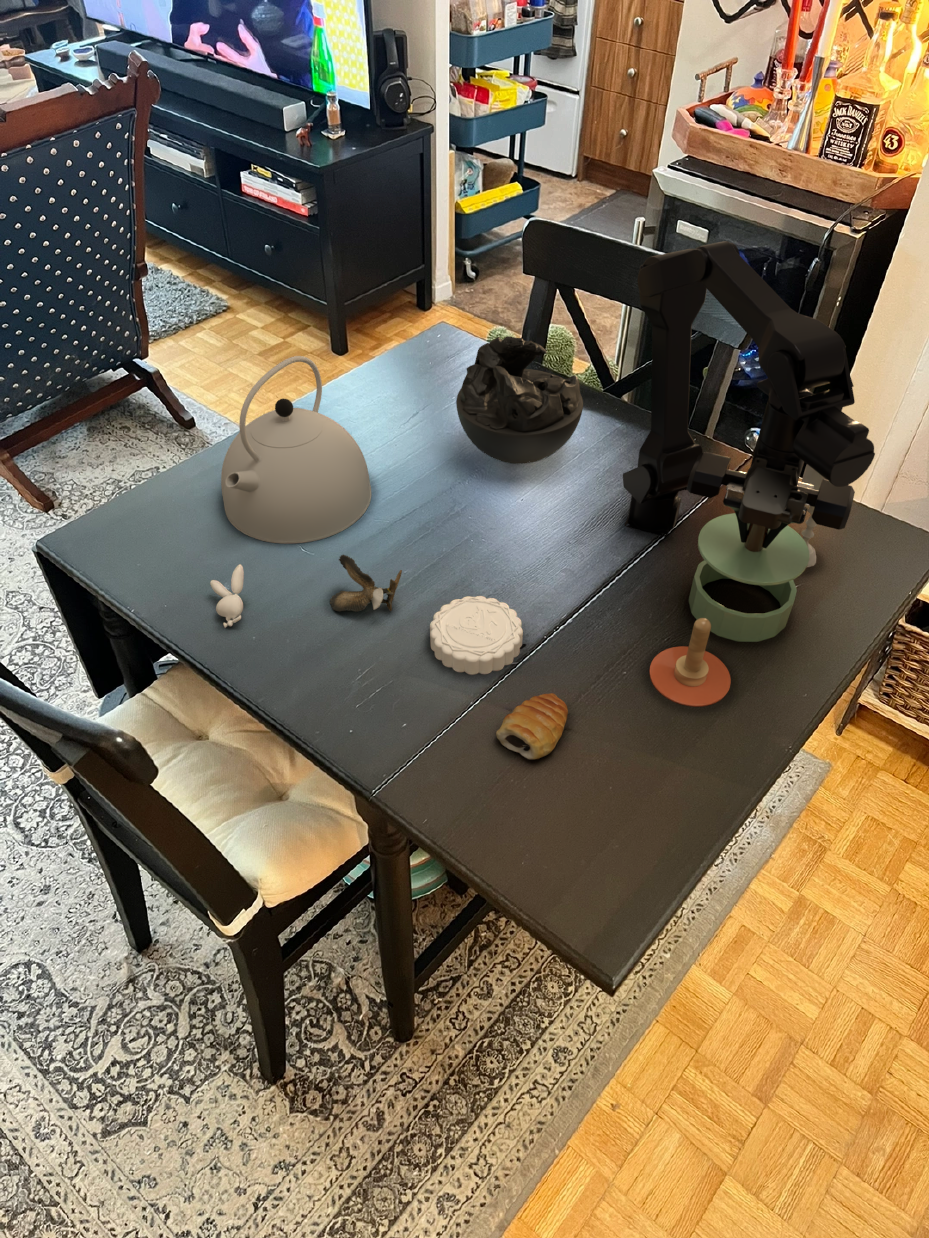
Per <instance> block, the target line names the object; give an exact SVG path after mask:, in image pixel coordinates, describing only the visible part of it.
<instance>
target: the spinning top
mask: <svg viewBox="0 0 929 1238" xmlns="http://www.w3.org/2000/svg"><path fill="white" fill-rule="evenodd" d="M688 647H689V646H687V645H686V646H685V645H682V646H681V645H679V646H673V647H669V648H665V649H664V650H662V651H660V652H659V653H657V654H656V655H655V656H654V658H653V659H652V661H651V663H650V666H649V671H648V672H649V679H650V681H651V684H652V685H653V687H654V689H656V691H657V692H658V693H659V694H661V695H662V696H663V697H664V698H666V699H668V700H669V701H671V702H673V703H675V704H678V705H680V706H681V705H682V706H687V707H692V708H693V707H695V708H700V707H707V706H712V705H714V704H716V703H718V702H720V701H721V700H723V699H724V698H725V697H726V696H727V694H728V693H729V690H730V688H731V683H732V682H731V681H732V679H731V674H730V671H729V669H728V668H727V666H726V665H725V663H723V661H722V660H721V659H720V658H719V657H717V656H716V655H715V654H713V653H711V652H709V651H707V650H705V653H704V657H703V660H704V661H705V662H706V663H707V665H708V668H709V670H708V674H707V678H706V680H705V682H704V683H703V684H701V685H699V686H687V685H684V684H682V683H680V682H679V681H678V680H677V679H676V677H675V675H674V670H675V665H676V662H677V660H678V659H679V658H680V657H682V656H685V655H687V651H688Z"/></svg>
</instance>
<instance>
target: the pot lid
mask: <svg viewBox="0 0 929 1238" xmlns="http://www.w3.org/2000/svg"><path fill="white" fill-rule="evenodd" d="M768 531H769V529H768V528H766V527H764V526H760V525H756V524H752V523H750V524H749V528H748V531H747V535H746V539H745V542H744V543H742V542H741V538H740V532H739V526H738V521H737V517H736V514H735V512H733V513H727V514H722V515H720V516H717V517H715V518H713V519H711V520H709V521H707V522H706V523H705V524H704V526H702V527H701V530H700V531H699V534H698V536H697V549H698V551H699V553H700V556H701V557H702V559H703V561H704V560H705V561H706V562H707V563H708V564H709V565H710V566H711V567H712V568H713V569H714V570H716V571H717V572H719V573H721V574H722V575H724V576H726V577H728V578H731V579H730V580H733V581H736V582H740V583H743V584H748V585H754V586H759V585H777V584H782V583H786V582H789V581H791V580H793V581H794V580H795V579H797V578H798V577H800V576H801V575H802V574H803V573H804V572H805V571H806V570H807V568H808V567H807V565H808V562H809V557H810V555H809V549H808V546H807V544H806V542H805V541H804V539H803V536H802V535H801V534H800V533H799V532H797V530H795V529H794V528H792V527H791V526H790V525H787V526H786V527H785V528H784V529H783V530H782V531H781V532H780V533H779V534H778V535H777V536H776V538H775V539H774V540H773V541H772V542H771V543H770V545H769V546H768V547H767V548H763V546H764V542H765V539H766V537H767V534H768Z"/></svg>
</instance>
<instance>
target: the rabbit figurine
mask: <svg viewBox="0 0 929 1238" xmlns="http://www.w3.org/2000/svg"><path fill="white" fill-rule="evenodd" d="M244 571H245V570H244V567H243V564H241V563H240V564H237V566H236V567H235V568H234V569H233V572H232V574H231V579H230V580H231V581H230V588H231V591H230V590H228V589H227V587H225V586H224V584H222V582H220V581H218V580H216V579H211V580H210V587H211V589H212V590H213V592H214V593H215V594H216V595H218V596H219V597H221V599H220V600H219V601H218V602H217V604H216V607H215V611H216V613H217V614H218V615H219V616H220V617H222V618H223V617H224V618H225V621H226V622H223V624H222V625H223V627H224V629H226V628H227V627H232V626H233V625H234V624H235V623H238V622H239V621H241V619H242V615H241V614H242V613H243V611H244V603H243V599H242V598H241V596H239V594H240V593H242V591H243V588H244V579H245V578H244V577H245V572H244Z"/></svg>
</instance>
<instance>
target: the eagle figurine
mask: <svg viewBox="0 0 929 1238" xmlns="http://www.w3.org/2000/svg"><path fill="white" fill-rule="evenodd" d="M338 561H339V562H340V563H339V564H341V565H342V568H344V569H345V570H346V572H347V574H348V576H349V577H350V578H351V579H352V580H353V581H354V582H355V583H356V584H358V585H359V586H361V587H362V590H360V591H359V590H355V591H354V590H350V591H348V590H347V591H345V590H340V591H339V592H336V593H335V594H333V595H331V597H330V599H329V604H330V608H332V610H334V611H335V612H346V611H349V612H350V611H351V612H354V613H355V612H356V613H357V612H361V611H364V610H365V609H366V607H367V606H368V605H369V604H372V609H373V610H374V611H375V610H377V609H378V608H380V606H381V604H385V605H386V607H387V609H388V610H389V611H390V612H392V611H393V602H394V599H395V598H394V597H395V594H396V591H397V589H398V586H399V583H400V580H401V577H402V572H403V570H402V569H400V570H399V571H398V573H397V575H396V577H395V578H394V579H392V578H390V579H389V586H388V587H385V588H382V587H378V586H375V585H376V584H375V583H376V582H375V581H374V580H373V578H372V576H370V575H369V574H368V573H365V572H363V571H362V570H361V567H359V566H358V564H357V563H356V560H355V559H353V558H352V557H350V556H348V555H346V554H341V555H340V556H339V558H338ZM384 594H386V596H387V597H386V599H385V598H384Z"/></svg>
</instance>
